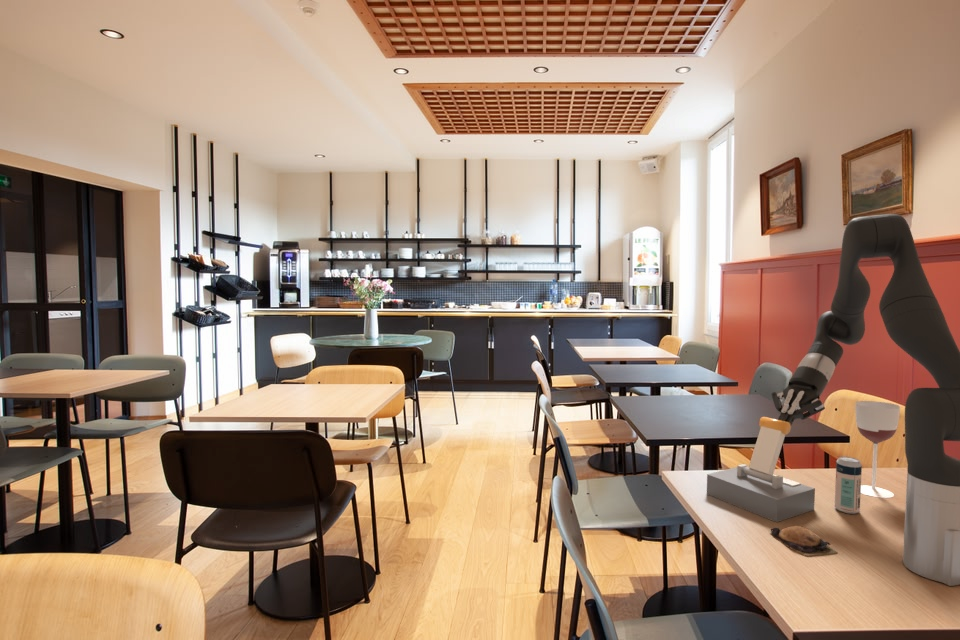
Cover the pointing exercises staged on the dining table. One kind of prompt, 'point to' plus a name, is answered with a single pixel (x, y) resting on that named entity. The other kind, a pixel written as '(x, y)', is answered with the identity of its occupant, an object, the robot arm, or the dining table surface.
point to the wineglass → (876, 434)
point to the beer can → (848, 485)
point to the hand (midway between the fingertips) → (781, 428)
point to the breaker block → (761, 493)
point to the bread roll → (802, 541)
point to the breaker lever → (767, 448)
